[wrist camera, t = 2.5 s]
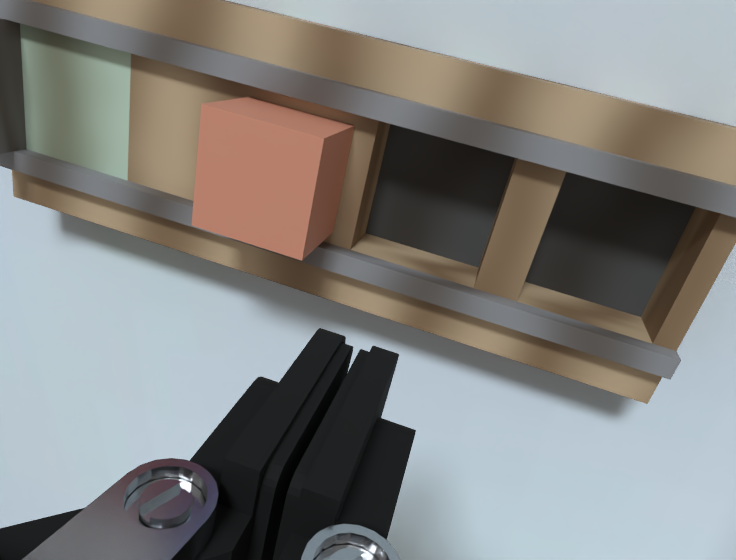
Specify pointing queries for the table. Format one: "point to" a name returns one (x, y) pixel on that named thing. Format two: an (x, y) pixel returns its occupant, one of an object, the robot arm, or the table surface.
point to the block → (269, 174)
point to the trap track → (390, 176)
